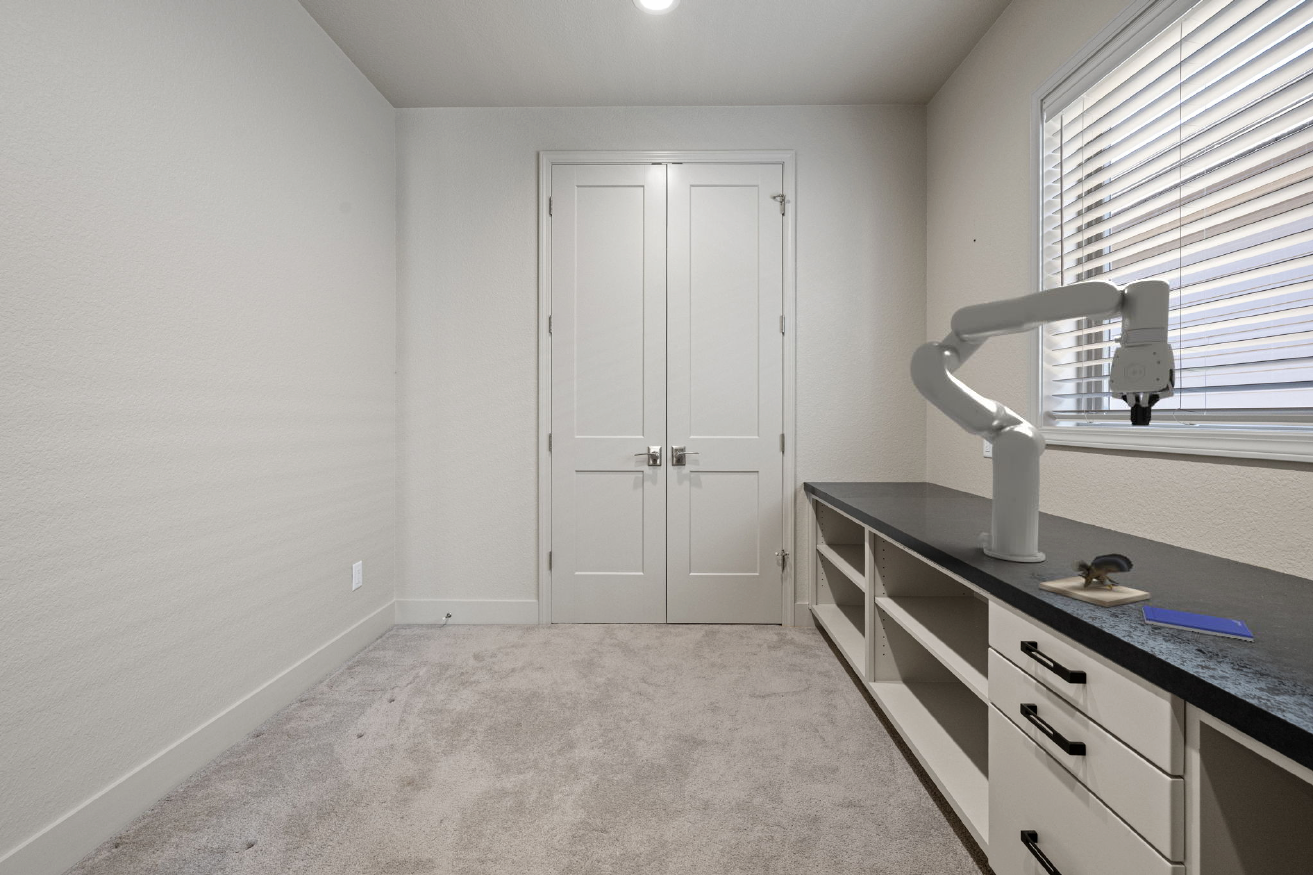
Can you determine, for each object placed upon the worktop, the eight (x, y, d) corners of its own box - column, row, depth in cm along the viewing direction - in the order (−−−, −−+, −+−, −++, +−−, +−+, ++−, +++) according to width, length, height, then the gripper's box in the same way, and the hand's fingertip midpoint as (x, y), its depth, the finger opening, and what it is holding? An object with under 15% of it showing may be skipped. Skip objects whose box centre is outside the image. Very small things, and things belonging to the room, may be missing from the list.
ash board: (1039, 587, 112) (1039, 582, 112) (1080, 580, 117) (1081, 575, 117) (1106, 607, 101) (1107, 601, 101) (1149, 598, 106) (1149, 593, 106)
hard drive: (1242, 620, 92) (1142, 604, 100) (1253, 635, 86) (1145, 617, 93) (1241, 629, 92) (1141, 613, 100) (1253, 645, 86) (1145, 626, 93)
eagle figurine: (1118, 590, 104) (1145, 575, 107) (1092, 554, 106) (1119, 541, 110) (1081, 601, 110) (1107, 586, 114) (1058, 566, 113) (1084, 554, 116)
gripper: (1094, 342, 126) (1091, 425, 126) (1177, 334, 112) (1173, 426, 113) (1114, 344, 128) (1111, 424, 129) (1198, 336, 115) (1194, 426, 115)
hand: (1140, 425), depth 121 cm, fingers closed
